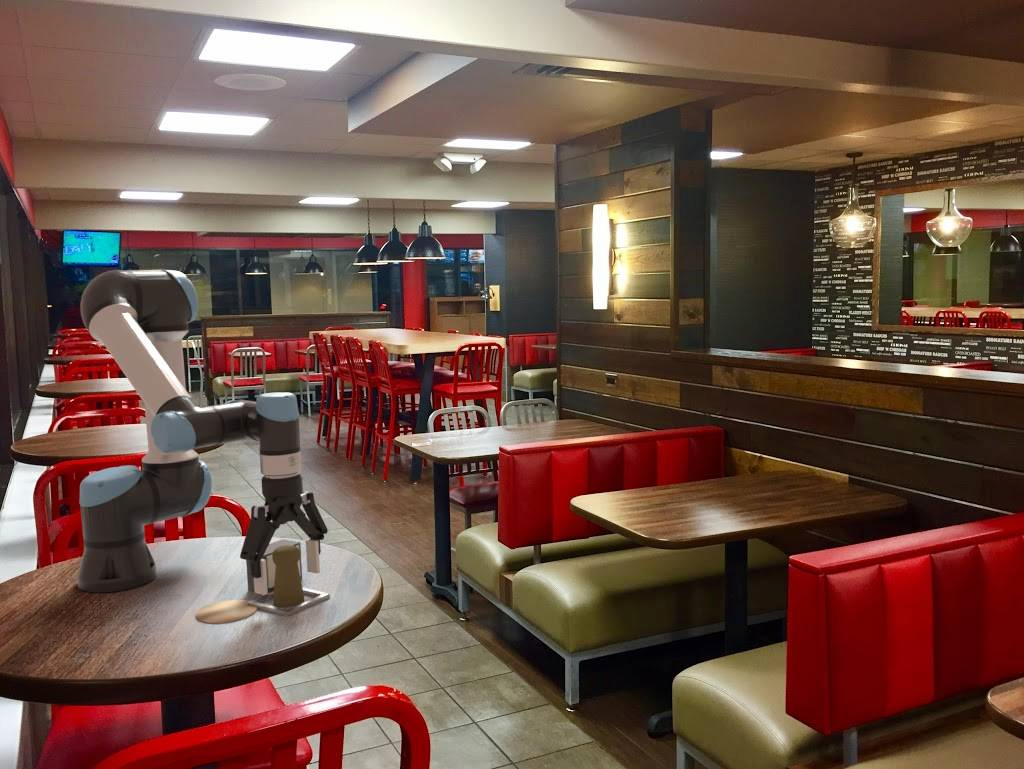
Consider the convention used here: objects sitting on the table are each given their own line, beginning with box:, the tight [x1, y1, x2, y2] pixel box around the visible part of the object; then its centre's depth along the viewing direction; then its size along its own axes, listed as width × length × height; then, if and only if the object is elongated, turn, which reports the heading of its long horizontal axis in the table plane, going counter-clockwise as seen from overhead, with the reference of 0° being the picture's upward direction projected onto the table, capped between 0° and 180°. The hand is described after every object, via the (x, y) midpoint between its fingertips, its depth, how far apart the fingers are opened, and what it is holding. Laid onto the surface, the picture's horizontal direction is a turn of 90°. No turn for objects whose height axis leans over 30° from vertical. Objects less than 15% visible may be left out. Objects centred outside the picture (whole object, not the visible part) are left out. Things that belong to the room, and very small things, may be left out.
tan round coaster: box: [195, 599, 258, 624], centre depth 166 cm, size 11×11×1 cm
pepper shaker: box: [272, 545, 306, 609], centre depth 170 cm, size 6×6×11 cm
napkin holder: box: [245, 538, 303, 593], centre depth 180 cm, size 5×10×8 cm, turn 148°
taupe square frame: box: [247, 587, 331, 617], centre depth 171 cm, size 11×11×1 cm
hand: (288, 582), depth 170 cm, fingers open, 13 cm apart
